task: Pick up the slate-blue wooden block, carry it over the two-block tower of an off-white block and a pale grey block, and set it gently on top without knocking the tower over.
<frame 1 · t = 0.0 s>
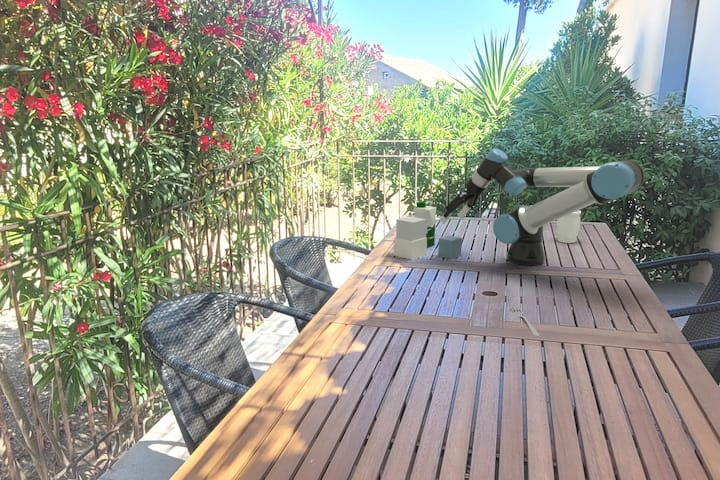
hand: (450, 219, 221), 15 cm above the table, tool tilted 35°, fingers open, 13 cm apart
slate block: (449, 256, 221), on the table
tower base: (410, 255, 222), on the table, touching tower top
tower top: (410, 237, 220), point 8 cm above the table, touching tower base
jar: (566, 241, 245), on the table
milk carton: (424, 245, 239), on the table
fork: (526, 324, 151), on the table
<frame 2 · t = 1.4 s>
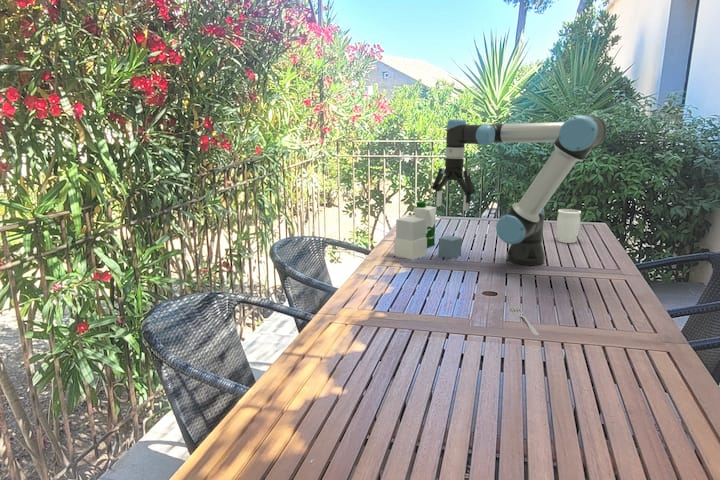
hand: (452, 208, 216), 21 cm above the table, tool pointing down, fingers open, 13 cm apart
tower base: (410, 255, 222), on the table
tower top: (410, 237, 220), point 8 cm above the table
everything else where it was.
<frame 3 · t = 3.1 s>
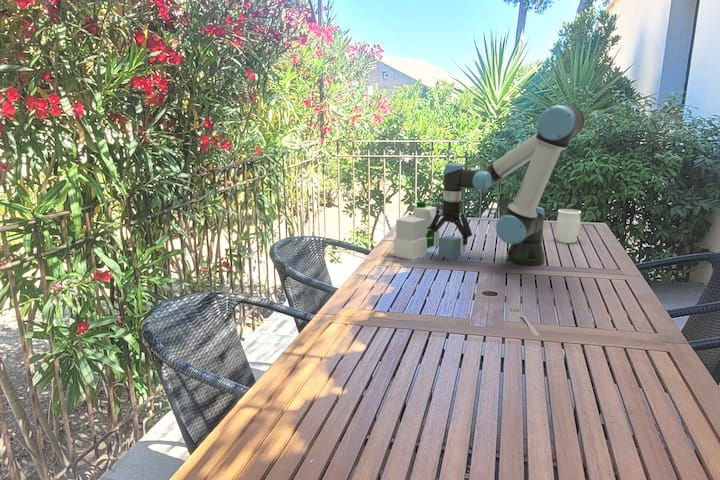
hand: (449, 248, 221), 3 cm above the table, tool pointing down, fingers open, 13 cm apart
tower base: (410, 255, 222), on the table, touching tower top
tower top: (410, 237, 220), point 8 cm above the table, touching tower base
everything else where it was.
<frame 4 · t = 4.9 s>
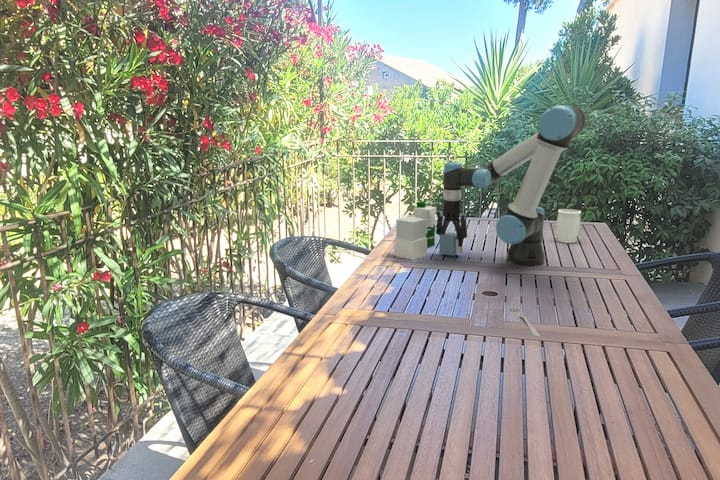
hand: (450, 252, 220), 2 cm above the table, tool pointing down, fingers closed on slate block, 7 cm apart
slate block: (450, 252, 221), point 1 cm above the table, touching gripper
everything else where it was.
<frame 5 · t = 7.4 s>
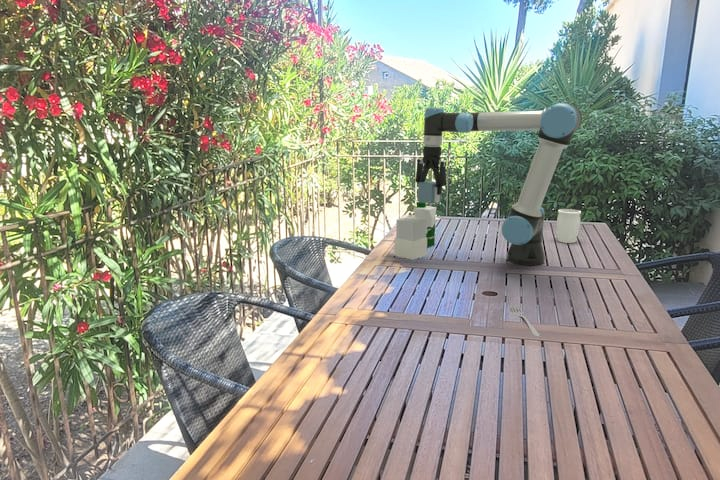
hand: (429, 200, 216), 24 cm above the table, tool pointing down, fingers closed on slate block, 7 cm apart
slate block: (429, 201, 217), point 24 cm above the table, touching gripper
everything else where it was.
when the fingers open (17 cm above the table, at t = 9.7 s): slate block stays where it is, resting on tower top.
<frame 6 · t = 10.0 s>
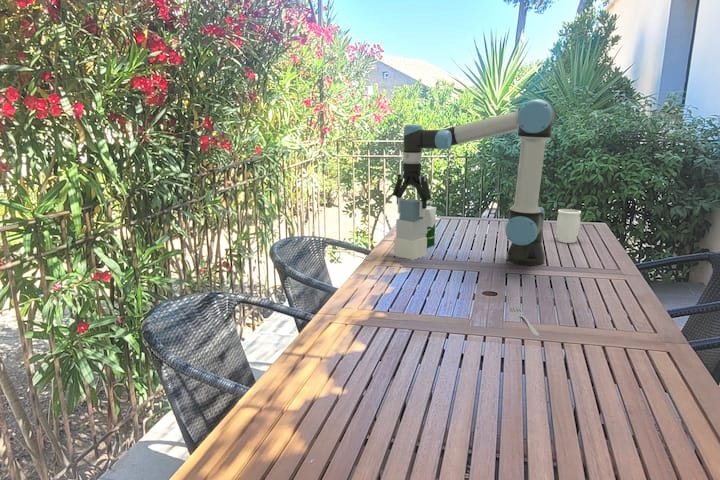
hand: (411, 214, 218), 18 cm above the table, tool pointing down, fingers open, 11 cm apart
slate block: (411, 219, 218), point 16 cm above the table, touching tower top
tower top: (410, 237, 220), point 8 cm above the table, touching slate block, tower base
everything else where it was.
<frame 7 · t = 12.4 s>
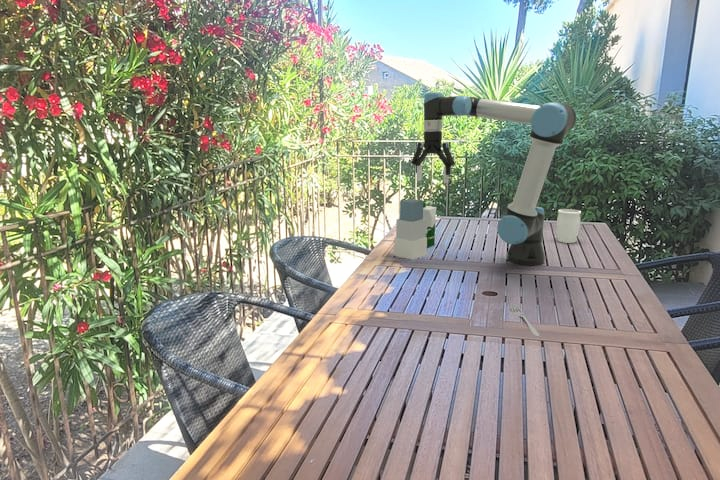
hand: (432, 181, 218), 32 cm above the table, tool pointing down, fingers open, 13 cm apart
nothing on the table moved.
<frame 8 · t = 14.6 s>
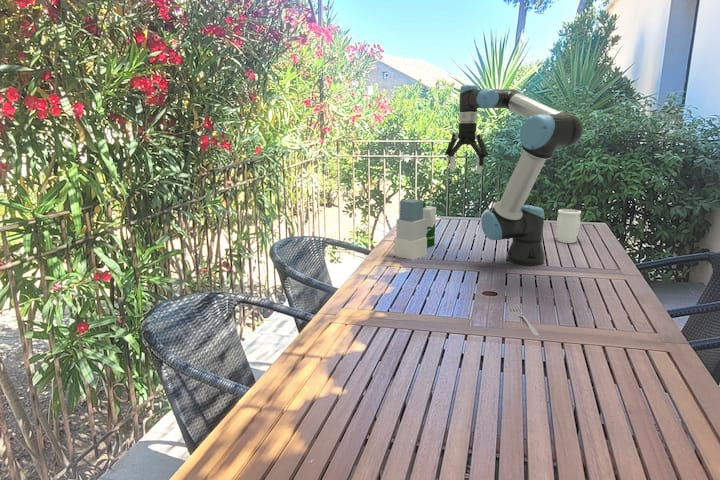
hand: (465, 172, 225), 35 cm above the table, tool pointing down, fingers open, 13 cm apart
nothing on the table moved.
at the end: slate block inside the target area on the tower base (0.1 cm from its centre), point 16.0 cm above the tower base's base; tower top 0.1 cm off-centre on the tower base, point 8.0 cm above the tower base's base; slate block tilted 0° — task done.
